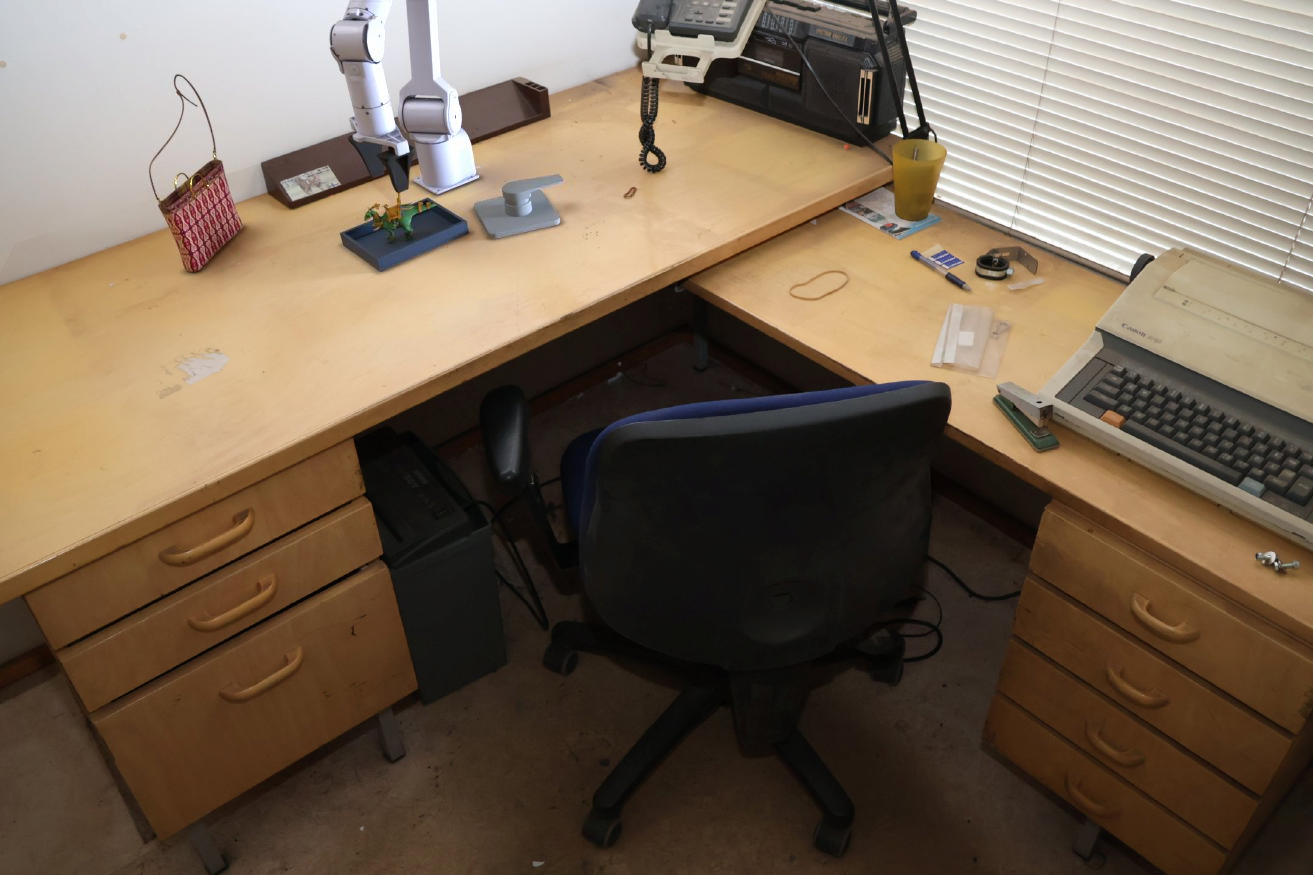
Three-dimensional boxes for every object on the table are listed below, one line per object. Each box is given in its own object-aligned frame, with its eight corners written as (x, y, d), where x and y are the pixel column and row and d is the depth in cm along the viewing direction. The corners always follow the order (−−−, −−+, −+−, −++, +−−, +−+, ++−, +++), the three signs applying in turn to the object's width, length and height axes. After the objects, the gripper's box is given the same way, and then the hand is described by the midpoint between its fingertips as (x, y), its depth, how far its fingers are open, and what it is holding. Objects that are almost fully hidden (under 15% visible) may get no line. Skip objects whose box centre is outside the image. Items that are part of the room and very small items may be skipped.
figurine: (369, 239, 168) (357, 194, 163) (440, 225, 170) (431, 181, 165) (371, 248, 166) (359, 203, 160) (443, 234, 168) (434, 189, 163)
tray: (430, 209, 176) (427, 197, 175) (469, 233, 169) (467, 220, 168) (342, 245, 168) (339, 232, 166) (379, 271, 161) (376, 259, 159)
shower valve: (573, 191, 167) (485, 210, 163) (576, 220, 171) (490, 240, 167) (551, 161, 176) (467, 179, 172) (554, 190, 180) (473, 208, 176)
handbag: (261, 214, 177) (214, 73, 161) (197, 276, 162) (139, 127, 146) (223, 211, 179) (174, 72, 162) (157, 273, 163) (95, 125, 147)
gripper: (324, 96, 156) (345, 177, 165) (372, 123, 148) (391, 206, 157) (364, 83, 160) (383, 163, 169) (413, 108, 151) (430, 190, 160)
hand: (389, 183), depth 163 cm, fingers open, 7 cm apart
